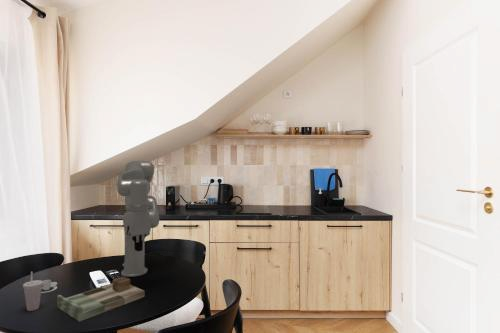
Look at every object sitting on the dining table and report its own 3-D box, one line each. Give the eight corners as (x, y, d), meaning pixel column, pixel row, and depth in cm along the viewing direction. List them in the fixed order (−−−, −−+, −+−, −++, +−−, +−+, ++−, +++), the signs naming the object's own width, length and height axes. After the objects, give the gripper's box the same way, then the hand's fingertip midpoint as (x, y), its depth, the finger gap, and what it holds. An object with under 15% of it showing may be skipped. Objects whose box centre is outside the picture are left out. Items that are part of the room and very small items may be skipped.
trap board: (57, 307, 118) (57, 295, 118) (120, 286, 139) (120, 276, 139) (79, 321, 107) (79, 308, 107) (144, 296, 128) (144, 285, 128)
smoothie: (29, 305, 120) (29, 269, 120) (46, 304, 120) (47, 268, 120) (18, 312, 113) (18, 274, 113) (36, 312, 114) (37, 274, 114)
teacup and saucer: (54, 284, 141) (54, 275, 141) (62, 288, 137) (62, 279, 137) (32, 291, 134) (32, 281, 134) (40, 295, 129) (40, 285, 129)
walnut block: (112, 289, 129) (112, 280, 129) (123, 285, 133) (123, 276, 133) (119, 292, 126) (119, 282, 126) (130, 288, 130) (130, 279, 130)
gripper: (148, 206, 144) (148, 245, 144) (118, 209, 132) (117, 252, 132) (158, 207, 140) (158, 248, 140) (128, 211, 128) (127, 255, 128)
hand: (138, 250), depth 136 cm, fingers closed
